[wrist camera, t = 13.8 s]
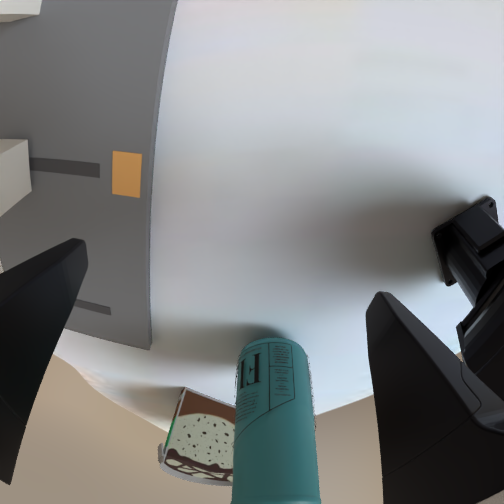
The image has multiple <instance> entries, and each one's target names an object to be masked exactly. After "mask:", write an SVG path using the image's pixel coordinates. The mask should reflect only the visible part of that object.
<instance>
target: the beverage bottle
mask: <svg viewBox="0 0 504 504" xmlns="http://www.w3.org/2000/svg"><path fill="white" fill-rule="evenodd" d="M239 356H240V357H239V362H238V366H237V365H236V366H237V367H238V368H237V369H238V370H237V369H236V370H237V371H236V373H237V374H238V378H237V396H236V403H235V404H236V406H235V405H234V406H235V407H236V412H235V413H236V414H234V416H235V417H234V418H235V432H234V442H233V443H234V445H233V446H234V447H233V446H232V447H233V448H234V450H233V469H232V470H233V483H232V501H231V504H321V499H320V491H319V478H318V466H317V453H316V442H315V431H314V417H315V416H316V415H314V414H313V409H314V407H313V405H312V400H313V398H312V396H313V395H311V391H312V389H313V388H312V387H311V386H310V383H311V384H312V382H311V381H310V379H312V378H310V377H311V376H310V377H309V375H310V373H311V372H310V373H309V369H308V367H309V366H308V360H307V356H308V355H307V356H306V353H305V351H304V350H303V348H302V347H301V346H300V345H299V344H297V343H296V342H294V341H292V340H289V339H285V338H274V337H273V338H263V339H259V340H256V341H253V342H251V343H249V344H248V345H247V346H246V347H244V349H243V350H242V352H241V354H240V355H239ZM308 358H309V357H308ZM309 364H310V363H309ZM236 377H237V375H236ZM235 386H236V381H235ZM311 388H312V389H311ZM313 397H314V396H313ZM234 398H235V397H234ZM314 406H315V405H314ZM235 407H234V409H235ZM314 412H315V411H314ZM233 420H234V419H233ZM233 423H234V422H233ZM315 427H316V426H315ZM231 455H232V454H231ZM231 466H232V465H231Z"/></svg>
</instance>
